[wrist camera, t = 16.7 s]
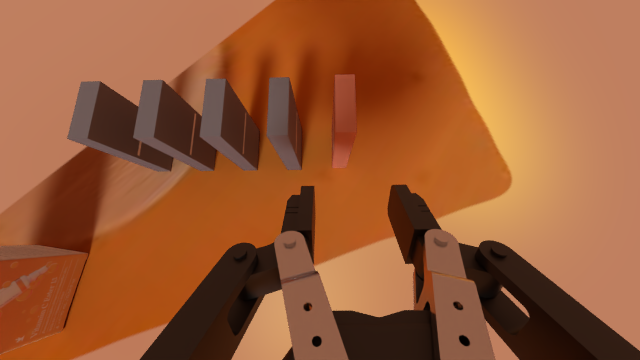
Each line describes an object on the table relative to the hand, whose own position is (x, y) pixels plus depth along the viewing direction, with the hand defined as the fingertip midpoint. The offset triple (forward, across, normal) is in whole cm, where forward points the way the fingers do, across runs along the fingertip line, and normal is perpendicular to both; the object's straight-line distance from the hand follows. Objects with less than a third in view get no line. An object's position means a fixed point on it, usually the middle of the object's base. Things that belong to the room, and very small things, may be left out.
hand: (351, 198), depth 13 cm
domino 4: (+15, +5, +4) cm, 16 cm away
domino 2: (+15, +15, +4) cm, 22 cm away
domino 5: (+15, 0, +4) cm, 15 cm away
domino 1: (+15, +21, +4) cm, 26 cm away
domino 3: (+15, +10, +4) cm, 18 cm away
